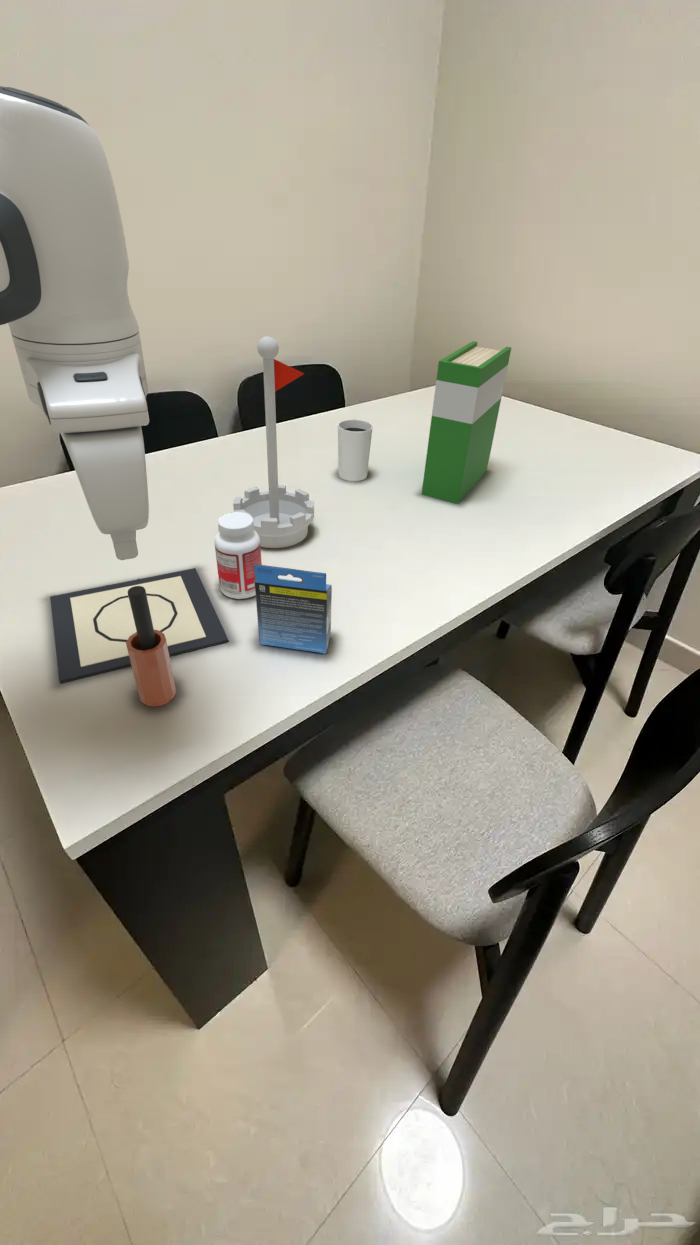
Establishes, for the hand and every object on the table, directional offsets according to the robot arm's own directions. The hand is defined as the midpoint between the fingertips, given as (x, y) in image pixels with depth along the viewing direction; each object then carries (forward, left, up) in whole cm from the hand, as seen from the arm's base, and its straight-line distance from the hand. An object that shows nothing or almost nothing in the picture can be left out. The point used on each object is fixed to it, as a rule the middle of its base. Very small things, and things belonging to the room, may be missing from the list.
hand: (119, 529), depth 53 cm
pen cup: (0, 0, -21) cm, 21 cm away
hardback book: (+65, +37, -22) cm, 78 cm away
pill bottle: (+15, +17, -22) cm, 31 cm away
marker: (0, 0, -21) cm, 21 cm away
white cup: (+47, +47, -22) cm, 70 cm away
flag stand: (+25, +31, -22) cm, 45 cm away
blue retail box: (+18, +3, -22) cm, 28 cm away
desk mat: (0, +15, -21) cm, 26 cm away
